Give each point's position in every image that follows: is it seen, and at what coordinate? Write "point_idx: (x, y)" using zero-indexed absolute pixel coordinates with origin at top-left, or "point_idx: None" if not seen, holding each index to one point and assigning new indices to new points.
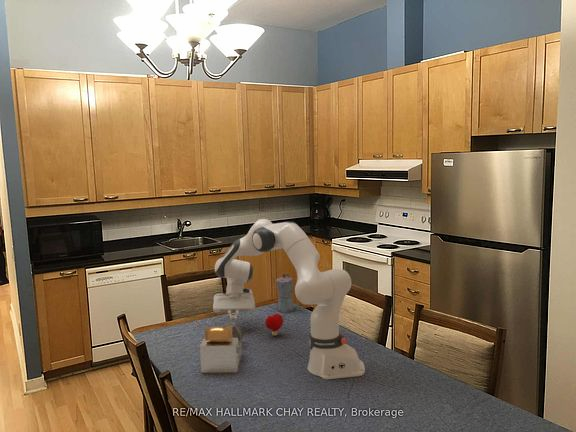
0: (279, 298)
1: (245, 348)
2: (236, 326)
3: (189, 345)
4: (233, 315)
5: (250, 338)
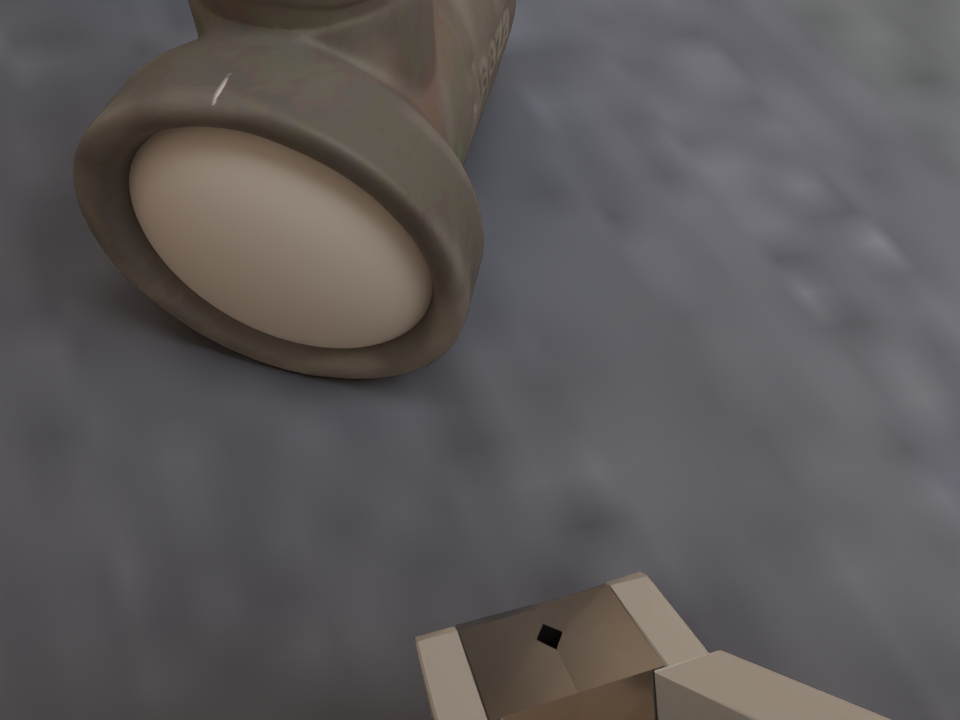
0: None
1: (69, 132)
2: (182, 61)
3: (916, 99)
4: (560, 688)
5: (48, 520)
